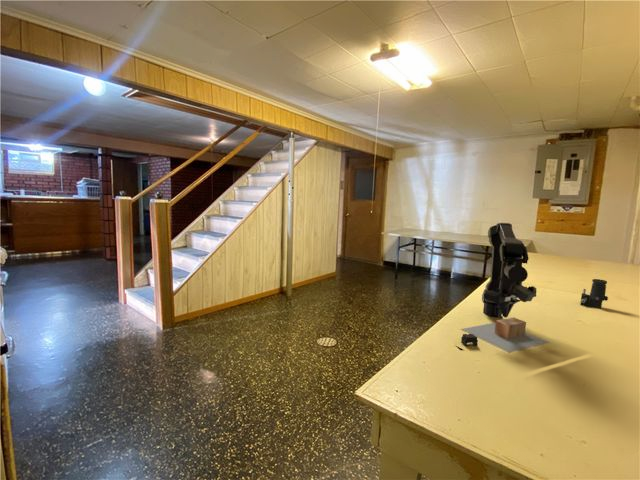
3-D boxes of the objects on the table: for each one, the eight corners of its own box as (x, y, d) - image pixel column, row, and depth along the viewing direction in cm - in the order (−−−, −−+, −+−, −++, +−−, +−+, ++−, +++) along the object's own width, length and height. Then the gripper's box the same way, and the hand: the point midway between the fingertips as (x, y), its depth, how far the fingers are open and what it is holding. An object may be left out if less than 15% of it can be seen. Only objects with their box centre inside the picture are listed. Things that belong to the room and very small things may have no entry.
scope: (584, 276, 162) (610, 280, 155) (580, 302, 164) (606, 307, 157) (583, 279, 156) (610, 283, 149) (579, 306, 157) (606, 311, 151)
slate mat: (460, 331, 121) (460, 329, 121) (498, 323, 130) (498, 321, 130) (509, 354, 103) (509, 352, 103) (549, 344, 112) (550, 342, 112)
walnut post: (495, 320, 118) (513, 317, 122) (494, 333, 118) (511, 329, 122) (508, 325, 113) (526, 322, 117) (507, 338, 114) (524, 334, 118)
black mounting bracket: (479, 343, 112) (480, 331, 112) (492, 353, 105) (493, 340, 105) (446, 343, 111) (447, 331, 111) (457, 353, 104) (458, 340, 103)
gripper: (514, 283, 103) (508, 329, 105) (549, 279, 110) (543, 321, 112) (484, 275, 113) (480, 317, 115) (518, 272, 120) (513, 311, 122)
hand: (505, 317), depth 116 cm, fingers closed
